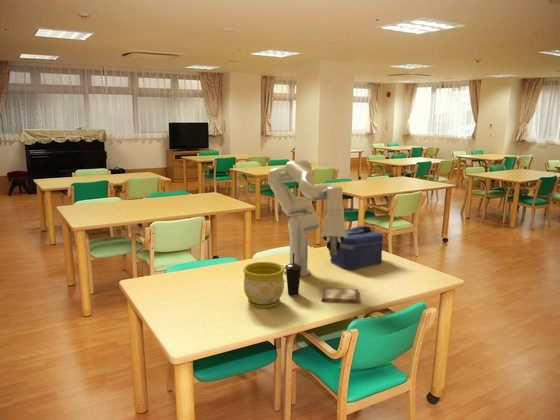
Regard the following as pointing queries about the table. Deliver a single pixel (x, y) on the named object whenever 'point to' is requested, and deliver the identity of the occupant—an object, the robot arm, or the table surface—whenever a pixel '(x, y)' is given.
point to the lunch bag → (359, 248)
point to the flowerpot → (263, 284)
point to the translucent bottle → (333, 246)
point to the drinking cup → (293, 277)
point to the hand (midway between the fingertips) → (333, 249)
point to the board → (340, 295)
